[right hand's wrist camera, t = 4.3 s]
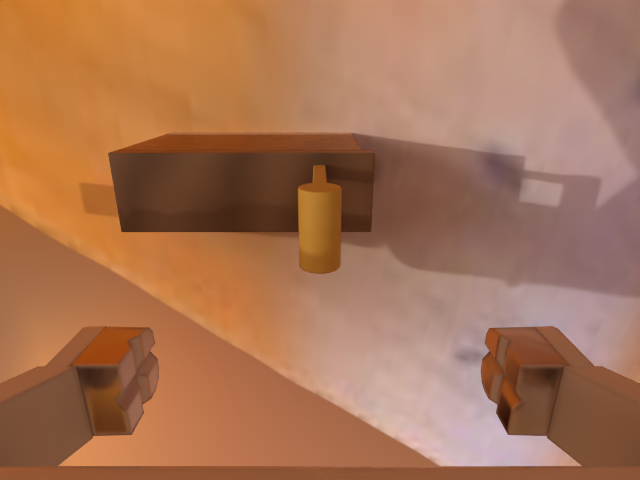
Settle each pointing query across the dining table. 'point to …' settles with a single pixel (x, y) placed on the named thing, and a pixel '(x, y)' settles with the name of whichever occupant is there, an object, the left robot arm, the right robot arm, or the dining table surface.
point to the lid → (249, 195)
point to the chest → (248, 142)
